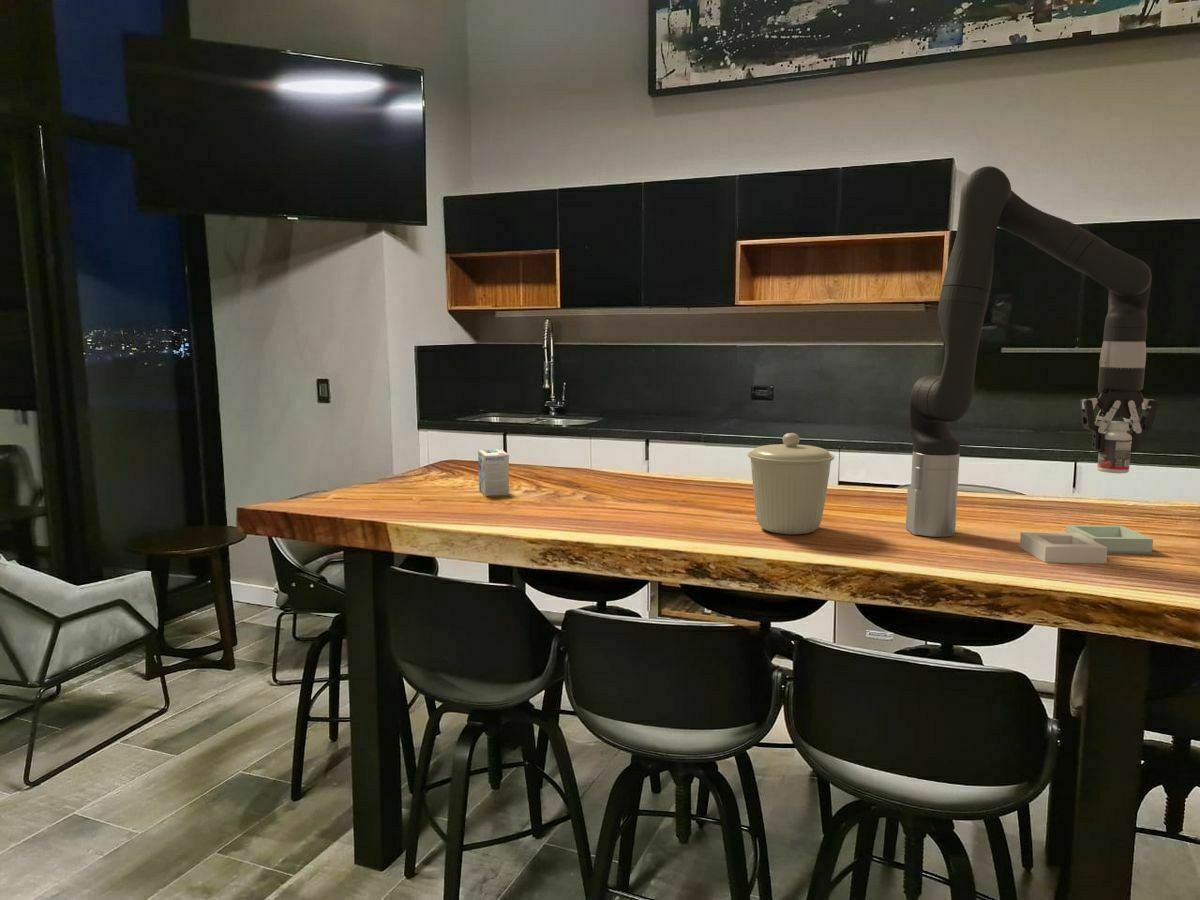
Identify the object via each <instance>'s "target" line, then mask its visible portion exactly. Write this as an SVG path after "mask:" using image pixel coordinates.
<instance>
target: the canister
mask: <svg viewBox="0 0 1200 900" xmlns="http://www.w3.org/2000/svg"><path fill="white" fill-rule="evenodd" d="M799 443H800V436H799V435H798V434H797V433H794V432H788V433H785V434H784V435H783V436H782V443H781V444H780V443H779V444H765V445H760V446H757V447H755V448H754V449H753V450H751V451H749V452H747V457H748V458H749V459H750V466H751V467H750V468H751V478H752V479H751V480H752V490H753V499H754V500H753V501H754V511H755V517H756V522H757V524H758V525H759V526H760V528H761V529H763V530H764V531H767V532H770V533H774V534H783V535H803V534H805V535H806V534H810V533H812V532H815V531H816V530H818V528H819V527H820V525H821V524H822V523H821V522H822V521H823V515H824V514H823V513H824V510H825V504H826V498H827V491H828V484H829V479H830V478H829V477H830V471H831V465H832V464H831V463H832V461H833V460H835V455H834V454H832V453H830V452H829V450H827V449H825V448H822V447H819V446H814V445H807V444H799Z"/></svg>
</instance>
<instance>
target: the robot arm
mask: <svg viewBox="0 0 1200 900" xmlns="http://www.w3.org/2000/svg"><path fill="white" fill-rule="evenodd" d="M957 221H958V222H957V228H956V233H955V239H954V243H953V246H952V250H951V253H950V256H949V259H948V262H947V266H946V271H945V274H944V277H943V282H942V284H941V285H942V286H941V290H940V295H939V300H938V307H937V316H938V322H939V327H940V330H941V334H942V337H943V341H944V348H945V349H944V359H943V360H944V361H943V365H942V371H941V374H940V375H932V374H931V375H925V376H922V377H920V378H919V379H917V381H916V382H914V385H913V386H912V389H911V392H910V396H909V407H908V408H909V410H908V411H909V413H908V415H909V424H908V425H909V429H908V430H909V437H910V440H911V443H912V458H911V459H912V460H911V461H912V462H911V478H910V479H911V480H910V485H909V484H908V486H907V496H906V497H907V499H906V517H905V529H906V530H907V531H908V532H910V533H911V534H912V535H914V536H915V535H916V536H924V537H932V538H933V537H934V538H936V537H937V538H938V537H939V538H946V537H952V536H954V535H955V534H956V525H957V523H956V522H957V521H956V520H957V507H958V506H957V504H958V490H959V489H958V488H959V473H960V472H959V470H960V457H961V455H960V454H961V453H960V452H961V451H960V450H961V442H960V440H959V439H958V438H957V437H956V436H955V435H954V434H953V433H952V432H951V431H950V428H949V426H948V423H954V422H958V421H960V420H962V419H963V417H965V416H966V415H967V413H968V412H969V409H970V407H971V404H972V400H973V394H974V387H975V375H976V368H977V367H976V365H977V358H978V351H979V346H980V341H981V336H982V330H983V326H984V325H983V324H984V320H985V316H986V313H987V309H988V303H989V299H990V296H991V288H992V282H993V273H994V256H995V254H994V253H995V250H994V249H995V240H996V235H997V231H998V228H999V229H1001V230H1004V231H1006V232H1009V234H1010V233H1011V234H1012V235H1014V236H1017V237H1018V238H1020V239H1023V240H1025V241H1026V242H1028V243H1030V244H1032V245H1034V246H1035V247H1036V248H1038V249H1040V250H1042V251H1043V253H1044V252H1045V253H1046V254H1048V255H1049V256H1051V257H1053V258H1054V259H1056V260H1058V261H1060V262H1061V263H1062V264H1065V265H1066V266H1068V267H1070V268H1071V269H1073V270H1075V272H1076V271H1077V272H1079V273H1081V274H1084V275H1087V276H1088V277H1090V278H1091V279H1092V280H1094V281H1096V282H1097V283H1099V284H1100V285H1102V286H1103V287H1105V288H1106V289H1107V290H1108V303H1107V305H1108V306H1107V313H1106V316H1105V320H1104V328H1103V339H1102V345H1101V351H1100V354H1099V357H1100V358H1099V360H1098V361H1099V368H1098V378H1097V379H1098V380H1097V394H1096V395H1095V397H1093V398H1088V399H1086V398H1081V399H1080V400H1079V407H1080V416H1081V423H1082V424H1081V425H1082V428H1083V429H1087V430H1089V431H1090V432H1092V436H1091V437H1092V439H1091V448H1092V449H1093V450H1094V452H1096V453H1099V452H1103V450H1104V439H1105V434H1104V432H1106V427H1107V425H1108V424H1109V423H1110V422H1111V421H1113V419H1116V418H1123V422H1127V423H1129V430H1128V432H1127V433H1128V434H1130V435H1131V436H1132V445H1131V454H1132V453H1133V454H1134V453H1136V450H1138V449H1139V447H1140V446H1139V444H1140V436H1141V435H1140V434H1142V433H1143V432H1145V431H1150V430H1152V427H1153V425H1154V420H1155V417H1156V414H1157V411H1158V408H1159V404H1160V402H1159V400H1156V399H1152V398H1151V399H1150V398H1144V396H1143V389H1144V382H1145V370H1146V361H1147V349H1146V347H1147V344H1146V342H1147V341H1146V340H1147V331H1148V313H1147V312H1148V307H1149V301H1150V294H1151V289H1152V287H1151V285H1152V279H1153V278H1152V277H1153V276H1152V271H1151V269H1150V267H1149V265H1148V264H1146V262H1145V261H1143V260H1141V259H1139V258H1137V257H1136V256H1134V255H1132V254H1130V253H1127V252H1125V251H1123V250H1121V249H1119V248H1117V247H1115V246H1112V245H1110V244H1109V242H1107V241H1105V240H1104V239H1102V238H1101V237H1100V236H1098V235H1096V234H1094V233H1093V232H1090V231H1089V230H1087V229H1085V228H1083V227H1082V226H1079V225H1077V224H1075V223H1073V222H1072V221H1070V220H1069V221H1068V220H1067V219H1064V218H1061V217H1058V216H1056V215H1052V214H1050V213H1047V212H1045V211H1042V210H1040V209H1038V208H1037V207H1035V206H1034V205H1031V204H1030V203H1029V202H1027V201H1025V200H1024V199H1023V198H1021V196H1019V195H1018V194H1017V193H1015V191H1013V190H1012V185H1011V182H1010V179H1009V177H1008V176H1007V174H1006V173H1005V172H1004V171H1002V170H1001V169H1000V168H997V167H996V166H982V167H980V168H977V169H975V170H974V171H973V172H971V173H970V175H968V176H967V178H966V179H965V180H964V182H963V184H962V185H961V190H960V201H959V213H958V220H957ZM1096 405H1097V407H1098V408H1099V411H1098V413H1097V415H1096V416H1095V414H1094V413H1095V412H1094V410H1095V408H1096ZM1140 406H1141V408H1142V412H1141V415H1140V417H1139V414H1138V409H1139V407H1140Z"/></svg>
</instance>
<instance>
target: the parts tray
mask: <svg viewBox="0 0 1200 900" xmlns="http://www.w3.org/2000/svg"><path fill="white" fill-rule="evenodd" d="M1065 533H1079V534H1081V535H1083V536H1085V537H1087V538H1089V539H1091V540H1093V541H1095V542H1097V543H1099V544H1101V545H1103V546H1105V547H1107V555H1108V554H1110V555H1113V554H1114V555H1115V554H1116V555H1153V554H1152V553H1153V548H1154V547H1153V546H1154V545H1153V544H1154V539H1153V538H1152V537H1150V536H1147V535H1144V534H1142V533H1140V532H1137V531H1135V530H1133V529H1130V528H1128V527H1125V526H1123V525H1094V524H1092V525H1090V524H1088V525H1085V524H1084V525H1082V524H1081V525H1079V524H1076V525H1075V524H1072V525H1069V524H1067V525H1066V529H1065Z"/></svg>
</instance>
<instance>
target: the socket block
mask: <svg viewBox="0 0 1200 900" xmlns="http://www.w3.org/2000/svg"><path fill="white" fill-rule="evenodd" d="M1019 548H1020V549H1022V550H1023V551H1026V552H1027V553H1028V554H1030V555H1032V556H1033V557H1035V558H1037V559H1038V560H1040V561H1042V562H1043V563H1059V564H1060V563H1065V564H1066V563H1067V564H1068V563H1069V564H1070V563H1072V564H1107V559H1108V556H1107V555H1108V554H1107V547H1105V546H1103V545H1101V544H1099V543H1097V542H1095V541H1093V540H1091V539H1089V538H1087V537H1085V536H1083V535H1081V534H1079V533H1066V532H1020V539H1019Z"/></svg>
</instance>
